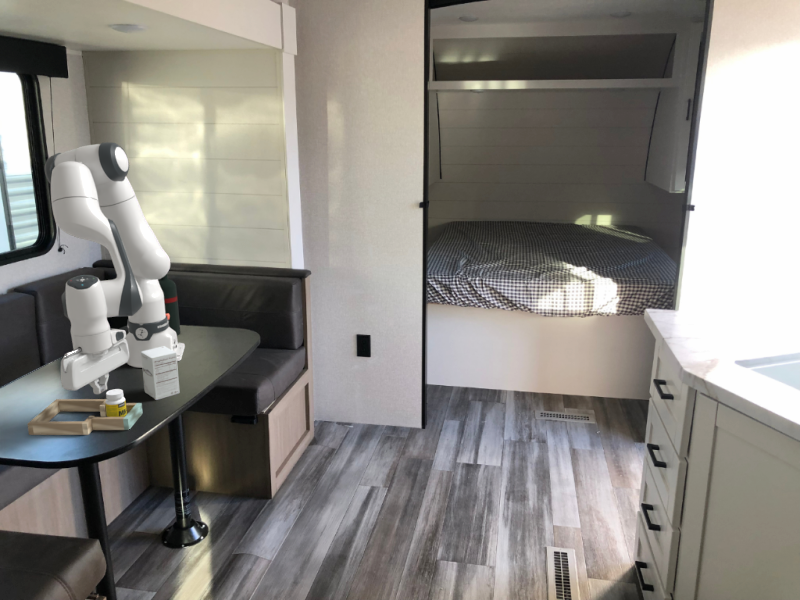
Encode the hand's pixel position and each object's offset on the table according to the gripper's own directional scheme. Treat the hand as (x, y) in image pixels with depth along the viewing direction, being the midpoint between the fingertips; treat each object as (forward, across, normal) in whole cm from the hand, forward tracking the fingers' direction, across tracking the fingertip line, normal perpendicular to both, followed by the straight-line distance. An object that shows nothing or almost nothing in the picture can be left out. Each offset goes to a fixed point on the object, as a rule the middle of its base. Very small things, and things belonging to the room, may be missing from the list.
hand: (100, 391), depth 163 cm
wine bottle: (+10, +65, +28) cm, 71 cm away
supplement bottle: (+8, 0, -4) cm, 9 cm away
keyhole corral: (+8, -2, +3) cm, 9 cm away
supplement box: (+9, +19, -3) cm, 21 cm away
